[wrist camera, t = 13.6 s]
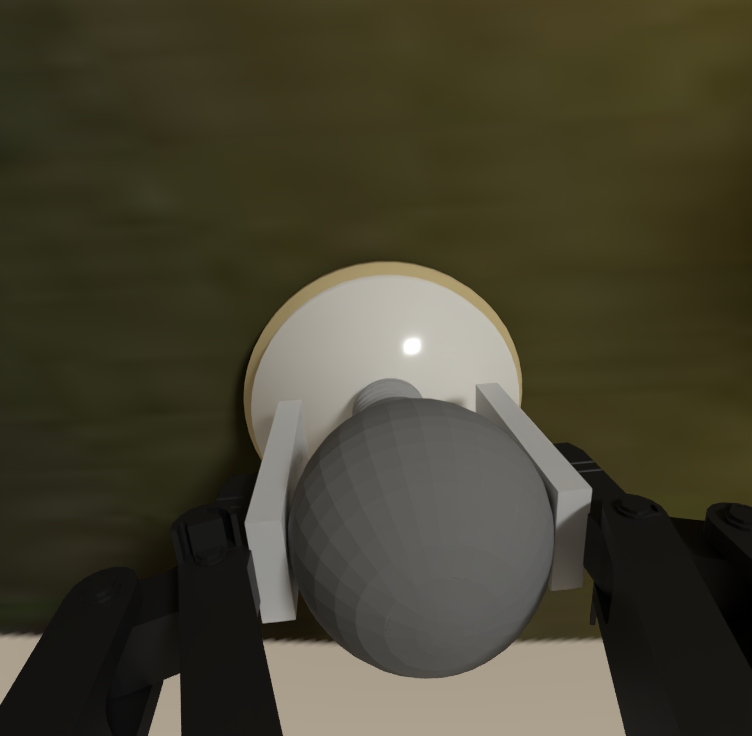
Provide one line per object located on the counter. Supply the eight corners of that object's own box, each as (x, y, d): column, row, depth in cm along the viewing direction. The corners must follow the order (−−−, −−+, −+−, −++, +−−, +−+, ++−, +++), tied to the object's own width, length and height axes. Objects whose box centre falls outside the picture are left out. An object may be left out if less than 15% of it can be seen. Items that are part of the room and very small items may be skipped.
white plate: (192, 411, 19) (179, 431, 18) (371, 196, 17) (375, 195, 15) (392, 548, 22) (397, 577, 20) (565, 379, 20) (587, 395, 18)
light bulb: (350, 499, 19) (365, 792, 10) (275, 372, 17) (203, 583, 8) (489, 436, 19) (648, 678, 9) (429, 298, 17) (554, 427, 7)
